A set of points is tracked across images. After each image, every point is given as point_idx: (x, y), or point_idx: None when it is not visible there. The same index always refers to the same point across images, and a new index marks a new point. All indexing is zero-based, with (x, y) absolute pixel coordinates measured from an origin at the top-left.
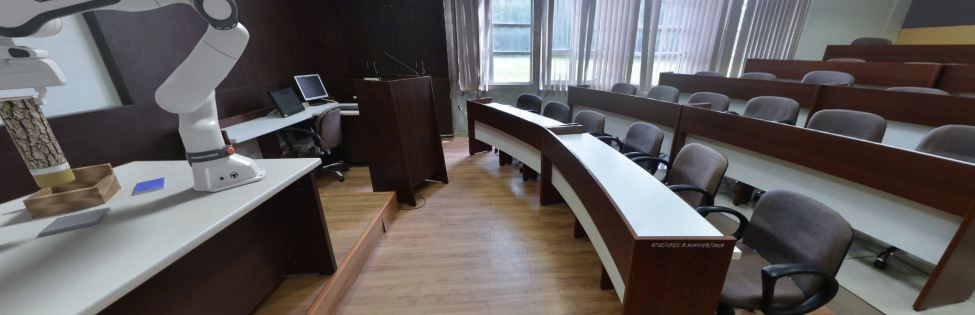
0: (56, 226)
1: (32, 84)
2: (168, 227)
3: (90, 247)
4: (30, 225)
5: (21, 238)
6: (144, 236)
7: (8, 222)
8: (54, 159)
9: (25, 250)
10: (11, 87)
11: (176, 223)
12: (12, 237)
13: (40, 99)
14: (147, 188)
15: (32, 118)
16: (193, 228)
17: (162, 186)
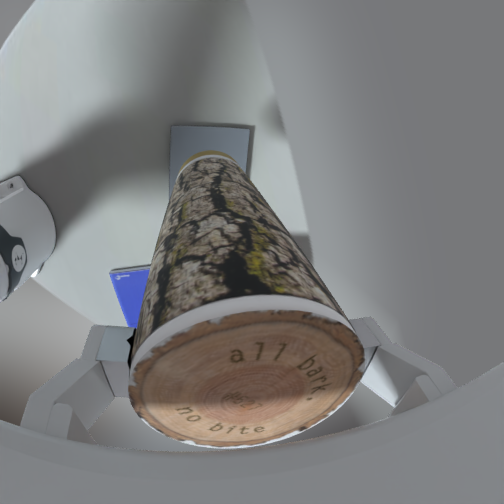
0: (231, 147)
1: (25, 459)
2: (66, 34)
3: (159, 17)
4: (279, 209)
5: (274, 145)
6: (94, 16)
7: (312, 253)
8: (183, 173)
9: (251, 75)
10: (215, 466)
11: (56, 45)
12: (289, 163)
13: (84, 350)
14: (134, 276)
15: (170, 233)
16: (41, 15)
17: (111, 273)
